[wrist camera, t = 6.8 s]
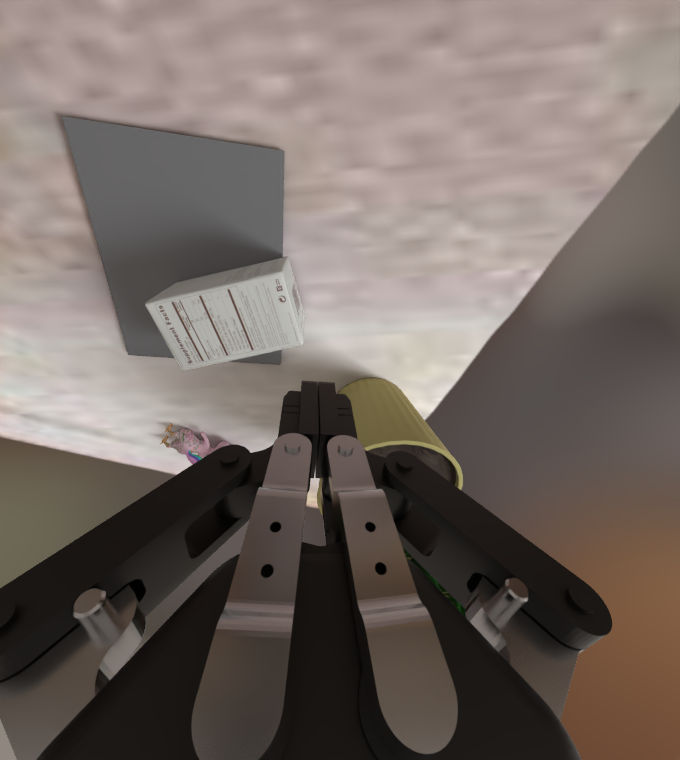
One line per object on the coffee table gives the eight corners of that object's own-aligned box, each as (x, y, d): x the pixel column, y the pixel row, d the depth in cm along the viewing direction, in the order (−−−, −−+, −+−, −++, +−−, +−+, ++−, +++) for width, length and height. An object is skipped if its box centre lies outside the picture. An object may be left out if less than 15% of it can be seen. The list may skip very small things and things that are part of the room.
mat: (66, 117, 25) (61, 115, 24) (284, 151, 27) (283, 150, 27) (130, 352, 36) (128, 354, 36) (280, 362, 39) (280, 364, 38)
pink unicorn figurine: (169, 438, 46) (258, 477, 48) (143, 465, 40) (246, 508, 43) (179, 408, 43) (274, 452, 45) (153, 434, 38) (262, 482, 40)
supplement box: (306, 319, 35) (204, 341, 36) (288, 254, 31) (173, 280, 32) (305, 347, 29) (181, 373, 30) (282, 270, 25) (139, 302, 26)
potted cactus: (396, 344, 38) (558, 633, 13) (433, 422, 46) (582, 701, 21) (295, 395, 41) (267, 712, 16) (346, 461, 49) (382, 746, 24)
